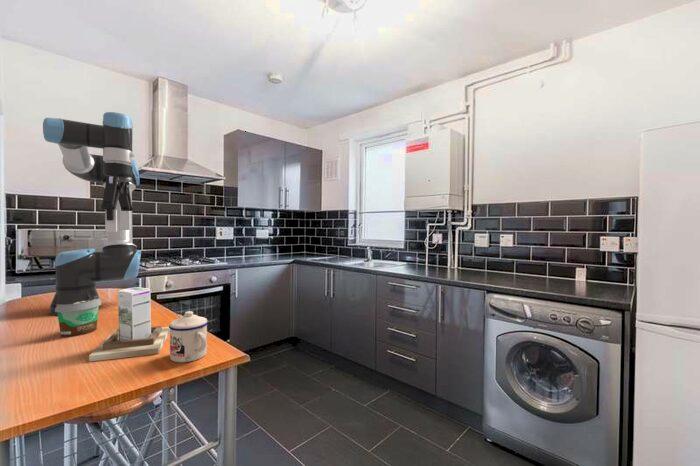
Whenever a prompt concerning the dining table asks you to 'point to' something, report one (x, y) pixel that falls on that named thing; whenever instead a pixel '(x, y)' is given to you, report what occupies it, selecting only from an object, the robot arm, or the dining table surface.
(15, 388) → the dining table surface
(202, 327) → the teacup with lid
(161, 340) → the beige square tray
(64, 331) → the food container
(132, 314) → the syrup box
